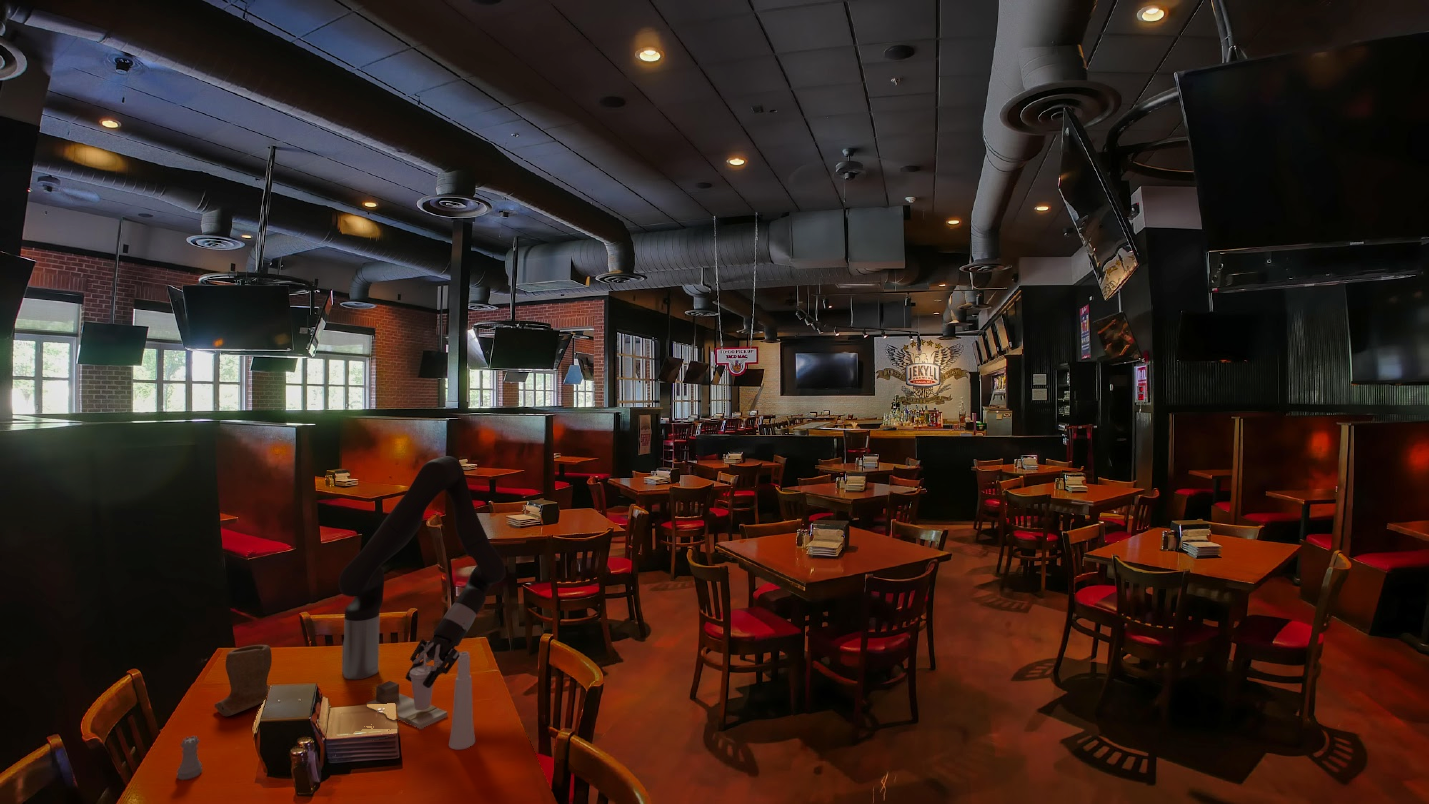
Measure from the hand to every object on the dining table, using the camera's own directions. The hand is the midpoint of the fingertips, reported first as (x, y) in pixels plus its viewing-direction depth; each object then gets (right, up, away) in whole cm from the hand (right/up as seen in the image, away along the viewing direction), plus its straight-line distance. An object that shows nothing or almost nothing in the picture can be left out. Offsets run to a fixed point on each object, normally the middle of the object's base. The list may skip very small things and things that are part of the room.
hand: (417, 683), depth 172 cm
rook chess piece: (-38, -9, -26) cm, 47 cm away
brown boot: (-49, -9, +6) cm, 50 cm away
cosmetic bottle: (+16, -10, -10) cm, 21 cm away
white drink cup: (+1, -7, +2) cm, 7 cm away
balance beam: (-5, -9, +4) cm, 11 cm away
